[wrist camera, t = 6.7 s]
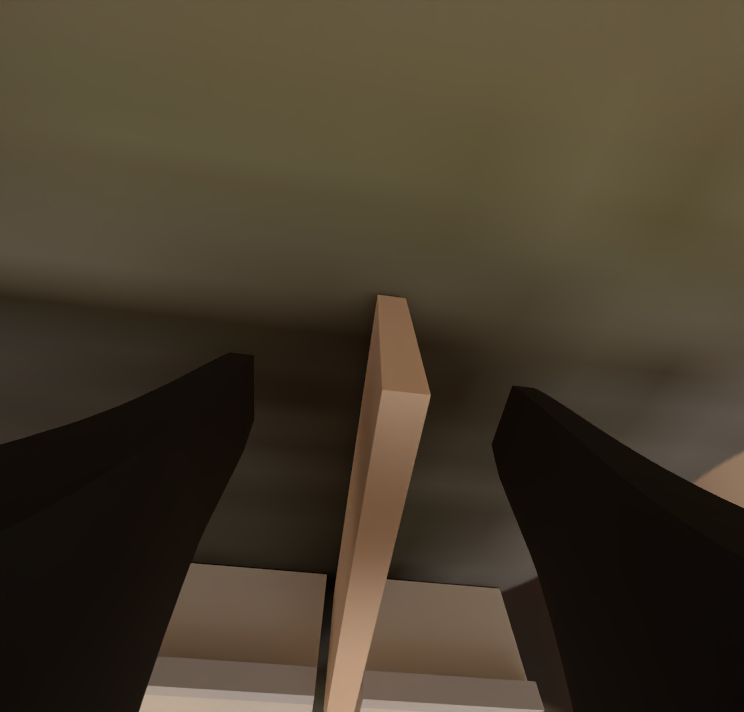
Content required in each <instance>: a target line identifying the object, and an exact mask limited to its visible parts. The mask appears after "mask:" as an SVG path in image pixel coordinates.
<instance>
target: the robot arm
mask: <svg viewBox="0 0 744 712" xmlns="http://www.w3.org/2000/svg"><path fill="white" fill-rule="evenodd" d="M253 421H254V355H246V354H238V353H228V354H225V355H223V356H221V357H219V358H217V359H215V360H213V361H211V362H209V363H207V364H205V365H203V366H201V367H200V368H198V369H196V370H194V371H192V372H190V373H188V374H186V375H184V376H182V377H180V378H178V379H176V380H174V381H172V382H170V383H168V384H166V385H164V386H162V387H160V388H158V389H155V390H153V391H151V392H149V393H147V394H145V395H142V396H140V397H138V398H136V399H134V400H132V401H129V402H127V403H124V404H122V405H120V406H117V407H115V408H112V409H110V410H107V411H104V412H102V413H99V414H96V415H94V416H91V417H88V418H85V419H83V420H80V421H77V422H74V423H71V424H68V425H65V426H61V427H58V428H55V429H52V430H48V431H45V432H42V433H38V434H35V435H32V436H28V437H25V438H22V439H19V440H15V441H12V442H8V443H5V444H1V445H0V712H139V710H140V707H141V704H142V701H143V698H144V695H145V692H146V689H147V686H148V683H149V680H150V677H151V674H152V671H153V668H154V665H155V662H156V659H157V656H158V653H159V650H160V647H161V645H162V642H163V639H164V636H165V633H166V630H167V627H168V624H169V622H170V619H171V616H172V613H173V611H174V608H175V605H176V602H177V599H178V597H179V594H180V591H181V588H182V586H183V583H184V580H185V578H186V575H187V572H188V570H189V567H190V564H191V562H192V559H193V556H194V554H195V551H196V549H197V546H198V543H199V541H200V539H201V537H202V535H203V532H204V530H205V528H206V526H207V524H208V522H209V520H210V518H211V516H212V514H213V512H214V510H215V508H216V506H217V504H218V501H219V499H220V497H221V495H222V493H223V491H224V489H225V487H226V485H227V483H228V481H229V479H230V477H231V475H232V473H233V471H234V469H235V467H236V465H237V463H238V461H239V459H240V457H241V455H242V453H243V451H244V448H245V445H246V442H247V439H248V436H249V433H250V430H251V427H252V424H253ZM492 448H493V453H494V457H495V462H496V466H497V469H498V473H499V477H500V480H501V482H502V485H503V488H504V490H505V493H506V495H507V498H508V500H509V503H510V505H511V508H512V510H513V513H514V515H515V518H516V520H517V522H518V525H519V527H520V530H521V532H522V535H523V537H524V540H525V542H526V545H527V547H528V549H529V552H530V554H531V557H532V560H533V563H534V565H535V568H536V571H537V574H538V577H539V581H540V584H541V587H542V590H543V594H544V597H545V601H546V605H547V608H548V611H549V615H550V618H551V622H552V626H553V630H554V634H555V637H556V641H557V645H558V648H559V653H560V656H561V660H562V664H563V668H564V673H565V677H566V681H567V686H568V690H569V694H570V698H571V703H572V707H573V711H574V712H744V508H742V507H740V506H738V505H736V504H733V503H731V502H729V501H727V500H725V499H722V498H720V497H718V496H716V495H714V494H712V493H710V492H708V491H706V490H704V489H702V488H700V487H698V486H696V485H694V484H693V483H691V482H689V481H687V480H685V479H683V478H681V477H679V476H677V475H676V474H674V473H672V472H670V471H668V470H666V469H664V468H663V467H661V466H659V465H657V464H655V463H654V462H652V461H650V460H648V459H647V458H645V457H643V456H642V455H640V454H639V453H637V452H635V451H634V450H632V449H630V448H629V447H627V446H625V445H624V444H622V443H620V442H619V441H617V440H616V439H614V438H612V437H611V436H609V435H608V434H606V433H605V432H603V431H602V430H600V429H599V428H597V427H595V426H594V425H592V424H591V423H589V422H588V421H586V420H585V419H583V418H582V417H580V416H579V415H577V414H576V413H574V412H573V411H571V410H570V409H568V408H567V407H565V406H564V405H562V404H561V403H559V402H558V401H556V400H554V399H553V398H551V397H550V396H548V395H546V394H544V393H543V392H541V391H539V390H537V389H535V388H528V387H520V386H512V388H511V391H510V394H509V397H508V399H507V402H506V405H505V408H504V411H503V414H502V417H501V419H500V422H499V425H498V428H497V431H496V434H495V436H494V439H493V442H492Z"/></svg>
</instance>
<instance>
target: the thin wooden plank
mask: <svg viewBox="0 0 744 712" xmlns="http://www.w3.org/2000/svg"><path fill="white" fill-rule="evenodd" d="M430 396H431V394H430V390H429V386H428V382H427V378H426V375H425V371H424V367H423V363H422V359H421V355H420V351H419V347H418V344H417V340H416V336H415V332H414V328H413V324H412V320H411V316H410V313H409V309H408V305H407V301H406V298H400V297H392V296H385V295H377V302H376V309H375V316H374V323H373V329H372V336H371V343H370V350H369V357H368V364H367V370H366V377H365V384H364V391H363V398H362V405H361V411H360V418H359V425H358V432H357V439H356V446H355V452H354V459H353V466H352V473H351V480H350V487H349V493H348V500H347V507H346V514H345V521H344V528H343V534H342V541H341V548H340V555H339V562H338V569H337V575H336V582H335V589H334V596H333V607H332V619H331V630H330V642H329V653H328V665H327V676H326V688H325V699H324V711H323V712H354V711H355V706H356V702H357V698H358V694H359V690H360V686H361V682H362V677H363V673H364V669H365V665H366V661H367V657H368V653H369V649H370V644H371V640H372V636H373V632H374V628H375V624H376V620H377V615H378V611H379V607H380V603H381V599H382V595H383V591H384V587H385V582H386V578H387V574H388V570H389V566H390V562H391V558H392V553H393V549H394V545H395V541H396V537H397V533H398V529H399V525H400V520H401V516H402V512H403V508H404V504H405V500H406V496H407V491H408V487H409V483H410V479H411V475H412V471H413V467H414V463H415V458H416V454H417V450H418V446H419V442H420V438H421V434H422V430H423V425H424V421H425V417H426V413H427V409H428V405H429V401H430Z"/></svg>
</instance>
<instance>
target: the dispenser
mask: <svg viewBox="0 0 744 712" xmlns="http://www.w3.org/2000/svg"><path fill="white" fill-rule="evenodd" d="M326 579H327V574H316V573H304V572H292V571H280V570H268V569H256V568H243V567H231V566H219V565H207V564H195V563H191V564H190V567H189V570H188V572H187V575H186V578H185V580H184V583H183V586H182V588H181V591H180V594H179V597H178V599H177V602H176V605H175V608H174V611H173V613H172V616H171V619H170V622H169V624H168V627H167V630H166V633H165V636H164V639H163V642H162V645H161V647H160V650H159V653H158V656H157V659H156V662H155V665H154V668H153V671H152V674H151V677H150V680H149V683H148V686H147V689H146V692H145V695H144V698H143V701H142V704H141V707H140V710H139V712H312V709H313V701H314V693H315V684H316V675H317V663H318V654H319V645H320V635H321V626H322V617H323V607H324V598H325V589H326ZM354 712H544V707H543V704H542V701H541V698H540V695H539V692H538V688H537V685H536V682H532V681H527V678H526V675H525V672H524V668H523V665H522V662H521V659H520V655H519V652H518V649H517V645H516V642H515V639H514V635H513V632H512V629H511V625H510V622H509V619H508V615H507V612H506V609H505V606H504V602H503V599H502V595H501V592H500V589H498V588H486V587H474V586H462V585H449V584H437V583H425V582H413V581H401V580H389V579H386V582H385V587H384V591H383V595H382V599H381V603H380V607H379V611H378V615H377V620H376V624H375V628H374V632H373V636H372V640H371V644H370V649H369V653H368V657H367V661H366V665H365V669H364V673H363V677H362V682H361V686H360V690H359V694H358V698H357V702H356V706H355V711H354Z"/></svg>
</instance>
